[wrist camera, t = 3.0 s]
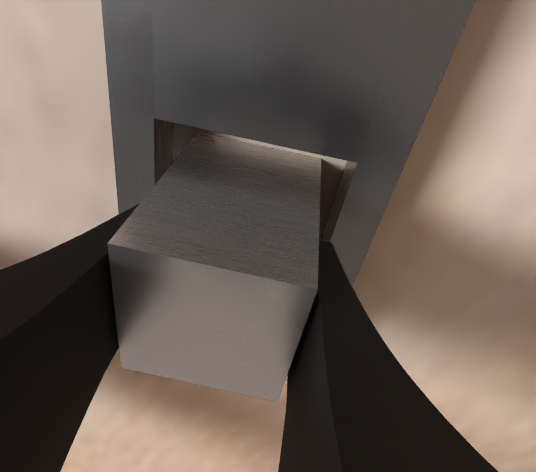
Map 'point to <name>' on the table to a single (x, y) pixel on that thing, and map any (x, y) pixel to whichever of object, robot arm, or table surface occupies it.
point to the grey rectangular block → (220, 267)
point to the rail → (280, 88)
